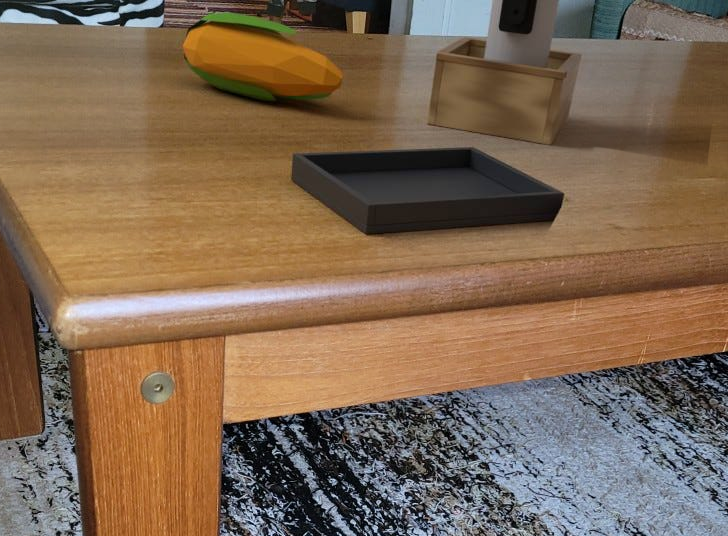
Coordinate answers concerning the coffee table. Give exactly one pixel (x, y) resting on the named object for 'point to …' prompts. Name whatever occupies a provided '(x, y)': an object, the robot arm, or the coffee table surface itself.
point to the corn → (257, 59)
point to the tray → (423, 189)
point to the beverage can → (522, 37)
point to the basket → (501, 93)
